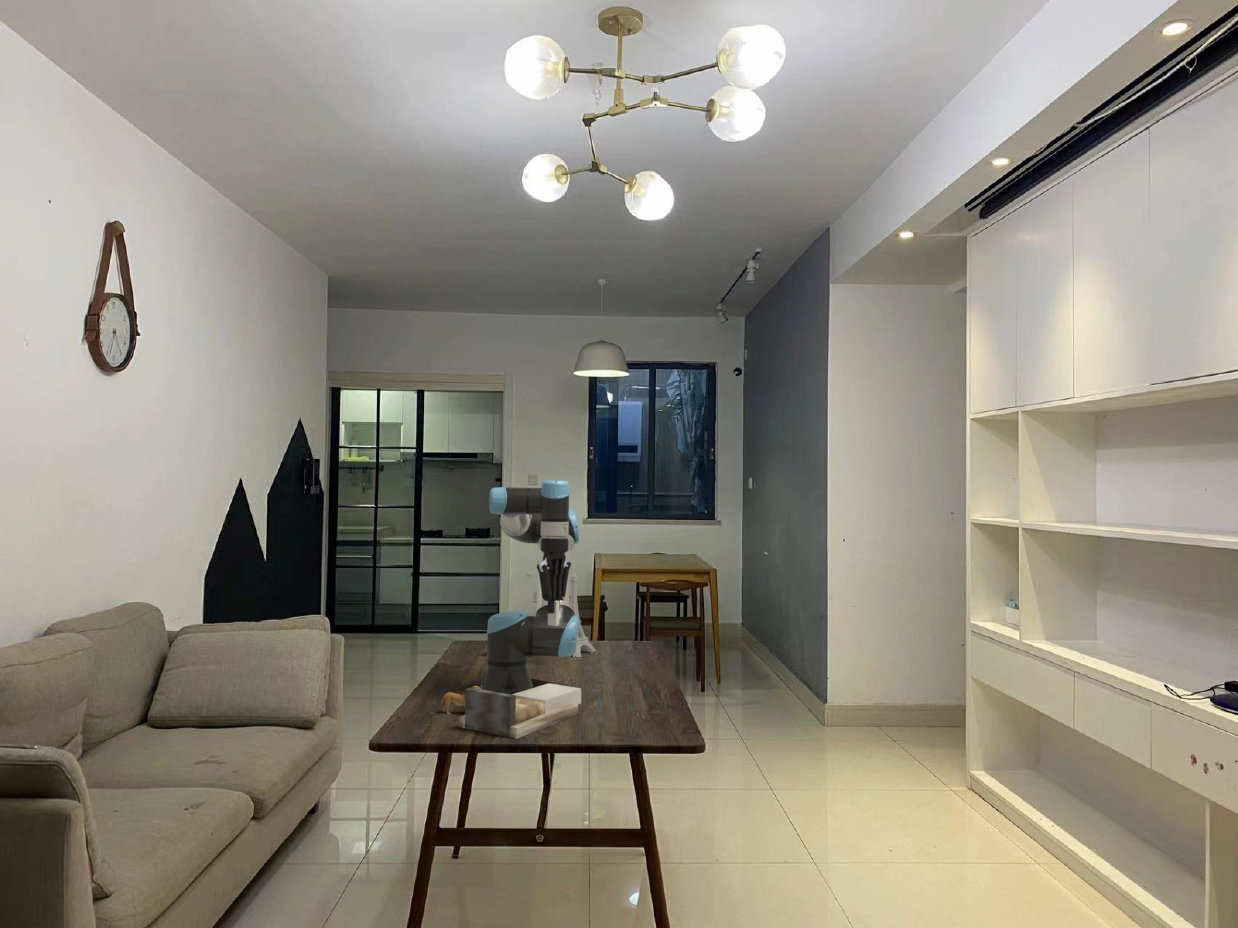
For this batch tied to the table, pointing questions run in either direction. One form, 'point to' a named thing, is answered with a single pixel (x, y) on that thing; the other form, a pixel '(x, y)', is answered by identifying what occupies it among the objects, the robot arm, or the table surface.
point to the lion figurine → (453, 700)
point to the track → (505, 714)
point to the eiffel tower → (573, 604)
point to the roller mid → (528, 710)
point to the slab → (552, 696)
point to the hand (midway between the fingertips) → (553, 625)
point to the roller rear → (538, 705)
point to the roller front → (520, 716)
